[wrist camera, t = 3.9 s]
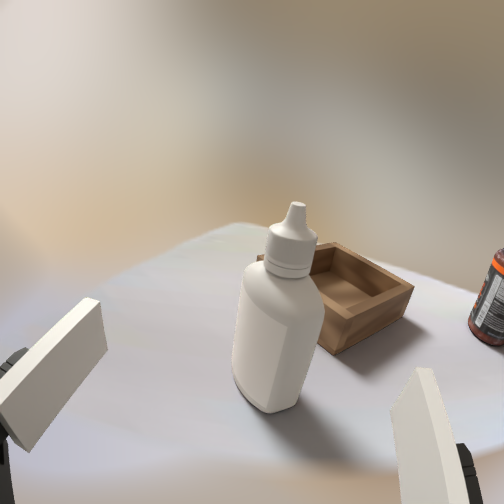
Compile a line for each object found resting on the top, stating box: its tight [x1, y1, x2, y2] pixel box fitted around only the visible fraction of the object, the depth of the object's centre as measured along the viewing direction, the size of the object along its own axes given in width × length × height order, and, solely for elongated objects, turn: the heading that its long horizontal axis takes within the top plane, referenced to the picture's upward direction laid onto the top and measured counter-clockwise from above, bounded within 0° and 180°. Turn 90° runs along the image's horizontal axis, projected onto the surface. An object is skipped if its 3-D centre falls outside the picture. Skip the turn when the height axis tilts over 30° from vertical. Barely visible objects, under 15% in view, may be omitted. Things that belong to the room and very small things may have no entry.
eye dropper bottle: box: [231, 202, 325, 413], centre depth 17 cm, size 4×6×12 cm
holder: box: [256, 242, 415, 356], centre depth 29 cm, size 11×11×4 cm
